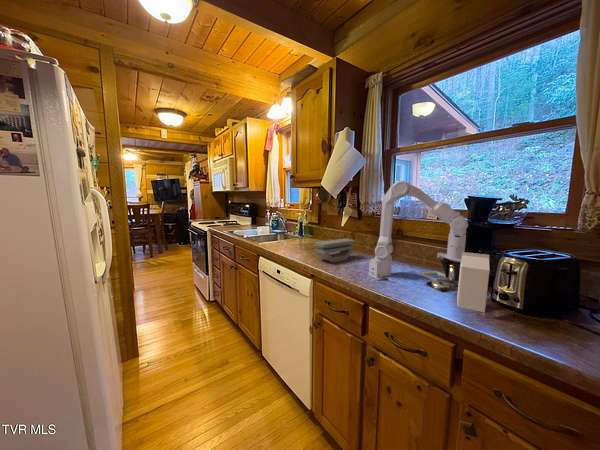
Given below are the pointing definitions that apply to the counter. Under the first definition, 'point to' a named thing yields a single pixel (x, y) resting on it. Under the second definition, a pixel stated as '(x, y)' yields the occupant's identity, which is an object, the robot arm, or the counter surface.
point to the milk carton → (473, 281)
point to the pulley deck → (453, 288)
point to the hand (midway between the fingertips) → (452, 279)
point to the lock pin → (451, 274)
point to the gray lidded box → (335, 249)
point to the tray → (433, 277)
